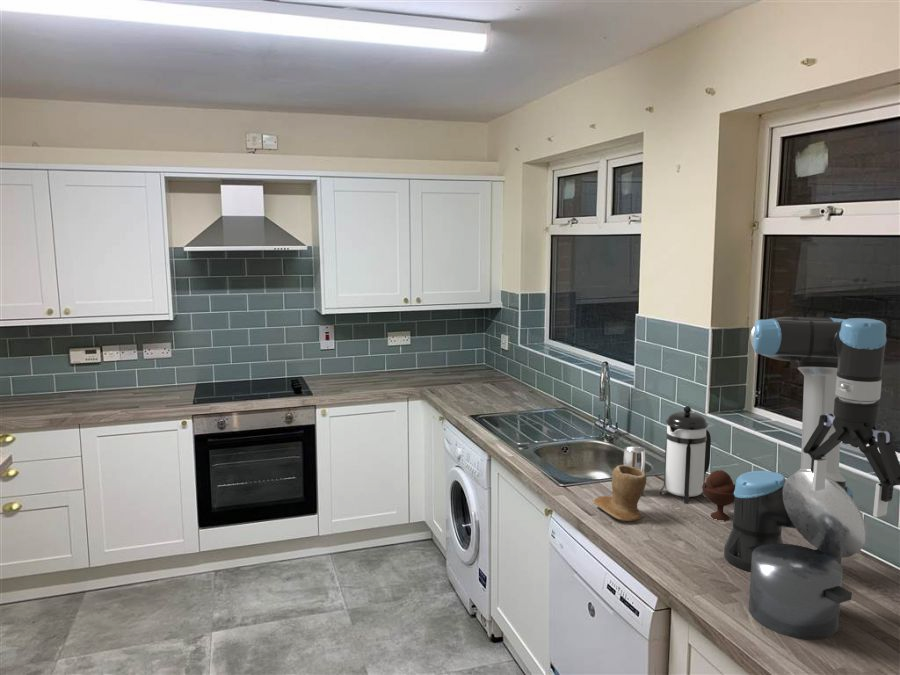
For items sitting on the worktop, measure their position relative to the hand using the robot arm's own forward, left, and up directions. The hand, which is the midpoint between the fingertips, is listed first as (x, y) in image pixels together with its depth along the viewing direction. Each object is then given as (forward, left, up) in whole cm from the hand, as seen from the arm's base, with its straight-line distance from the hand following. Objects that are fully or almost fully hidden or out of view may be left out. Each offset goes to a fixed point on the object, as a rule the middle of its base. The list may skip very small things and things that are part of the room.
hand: (847, 502), depth 136 cm
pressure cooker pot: (-11, -6, -32) cm, 34 cm away
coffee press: (-79, -34, -32) cm, 92 cm away
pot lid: (-15, -3, -9) cm, 18 cm away
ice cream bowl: (-63, -23, -32) cm, 74 cm away
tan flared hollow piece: (-55, -51, -32) cm, 81 cm away
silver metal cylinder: (-74, -50, -32) cm, 95 cm away
